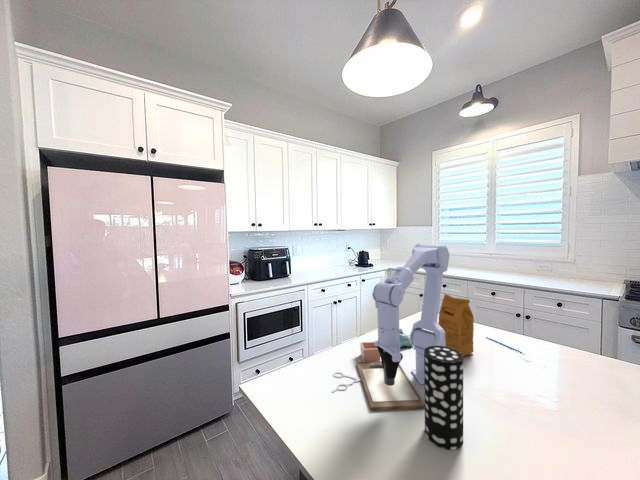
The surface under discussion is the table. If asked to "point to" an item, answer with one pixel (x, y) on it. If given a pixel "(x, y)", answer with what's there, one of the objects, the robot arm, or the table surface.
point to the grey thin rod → (503, 344)
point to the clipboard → (388, 389)
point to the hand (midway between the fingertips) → (389, 374)
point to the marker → (387, 381)
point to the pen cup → (369, 352)
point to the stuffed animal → (404, 339)
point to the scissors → (345, 384)
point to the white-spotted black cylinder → (443, 396)
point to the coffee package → (457, 324)
